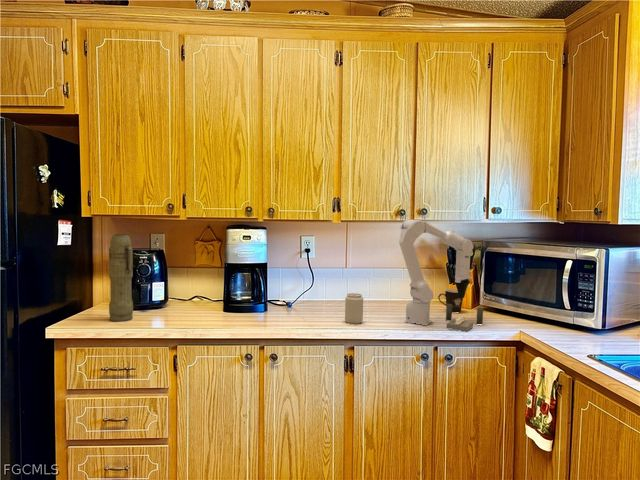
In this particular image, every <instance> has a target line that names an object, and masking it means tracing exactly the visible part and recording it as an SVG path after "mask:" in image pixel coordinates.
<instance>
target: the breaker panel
mask: <svg viewBox="0 0 640 480" xmlns="http://www.w3.org/2000/svg"><path fill="white" fill-rule="evenodd" d="M456 319H457V318H453V319H452V321H448V322H447V323H446V329H447V328H452V329H457V330H456V331H458V330H461V331H460V332H464V331H465V332H466V333H467V332H469V331H470V330H471V329H472V328H473V327H474V322H473V321H470V320H469V321H468V320H465V321H463V322H462V323H461V324H459V325H457V324H455V323H456ZM472 326H473V327H472ZM471 327H472V328H471ZM470 328H471V329H470ZM452 329H451V330H452ZM469 329H470V330H469Z"/></svg>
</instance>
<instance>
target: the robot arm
mask: <svg viewBox="0 0 640 480" xmlns="http://www.w3.org/2000/svg"><path fill="white" fill-rule="evenodd" d="M399 229H400V234H399V241H398V242H399V246H400V250H401V253H402V255H403V256H402V257H403V260H404V262H405V265H406V269H407V272H408V275H409V278H410V283H409V286H410V287H409V288H410V291H409V293H410V296H411V298H412V300H408V301H407V303H406V306H405V307H406V308H405V320H404V322H405V323H408V324H414V323H416V324H415V325H420V324H422V325H421V326H428V325H429V323H430V324H432V323H433V320H430V314H431V313H430V311H431V310H430V309H431V301H433V298H434V292H433V290H432V289H431V288H430V286H429V283H428V282H427V281H426V279H425V278H424V274H423V272H422V268H421V265H420V262H419V259H418V256H417V252H416V249H415V245H414V244H415V241H416V240H417V239H418V238H419V237H421V235H423V233H424V234H429V235H431V236H434V237H436V238H439V239H440V240H441V242H442V244H444V245H446V246H449V247H451V248H452V249H454V250H455V252H456V255H455V259H456V260H455V275H454V279H455V280H454V284H455V287H456V290H457V291H458V296H459V297H462V298H463V299H464V298H465V296H466V293H467V289H468V286H469V284H470V280H472V279H473V276H471V275H470V271H471V269H470V268H471V265H470V264H471V255H472V251H473V249H474V247H475V246H474V245H473V242H472V240H471V239H469V238H464V236H463V235H459V234H457V233H455V231H454V230H446V231H444V230H442V229H440V228H438V227H436V226H435V225H433V224H430V223H429V222H427V221H425V220H424V221H423V220H421V219H405V220H404V221H403V222H402V224H401V226H400V228H399ZM469 279H470V280H469ZM427 324H428V325H427Z"/></svg>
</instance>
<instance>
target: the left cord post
mask: <svg viewBox="0 0 640 480" xmlns="http://www.w3.org/2000/svg"><path fill="white" fill-rule="evenodd" d="M445 307H446V308H445V309H446V310H445V320H446V319H447V320H453V319H452V317H453V313H452V304H447V305H446V306H445ZM447 320H446V321H447Z"/></svg>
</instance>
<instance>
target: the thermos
mask: <svg viewBox="0 0 640 480" xmlns="http://www.w3.org/2000/svg"><path fill="white" fill-rule="evenodd" d="M133 251H134V249H133V247H132V240H131V238H130V235H128V233H127V234H125V233H115V234H113V235H112V236H111V239H110V246H109V248H108V253H109V254H108V255H109V256H108V257H109V258H108V259H109V260H108V261H109V263H108V277H109V281H110V284H109V285H110V288H109V289H110V301H109V304H108V314H109V321H110V322H114V323H120V322H121V323H122V322H129V321H132V320H133V318H134V317H133V313H134V301H133V298H132V294H133V293H132V290H133V289H132V280H133V279H132V278H133V277H134V274H133V273H134V271H133V270H134V269H133V268H134V264H133V263H134V257H133V255H134V252H133Z"/></svg>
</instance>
